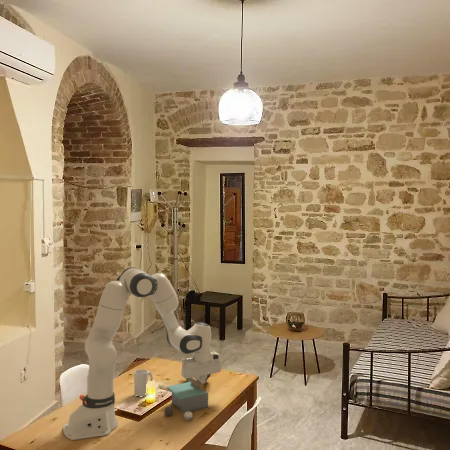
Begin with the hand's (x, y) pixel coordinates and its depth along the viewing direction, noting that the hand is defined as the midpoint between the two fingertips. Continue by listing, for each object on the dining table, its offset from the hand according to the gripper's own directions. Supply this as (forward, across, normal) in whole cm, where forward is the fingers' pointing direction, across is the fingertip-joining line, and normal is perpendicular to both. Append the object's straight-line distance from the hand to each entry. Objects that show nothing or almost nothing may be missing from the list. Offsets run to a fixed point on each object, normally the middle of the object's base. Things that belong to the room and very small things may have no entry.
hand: (201, 383), depth 233 cm
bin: (+9, -6, 0) cm, 11 cm away
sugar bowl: (+10, +9, +22) cm, 26 cm away
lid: (+2, -8, 0) cm, 8 cm away
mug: (+10, -21, +22) cm, 32 cm away
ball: (+9, -19, -5) cm, 22 cm away
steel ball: (+9, -13, -13) cm, 21 cm away
